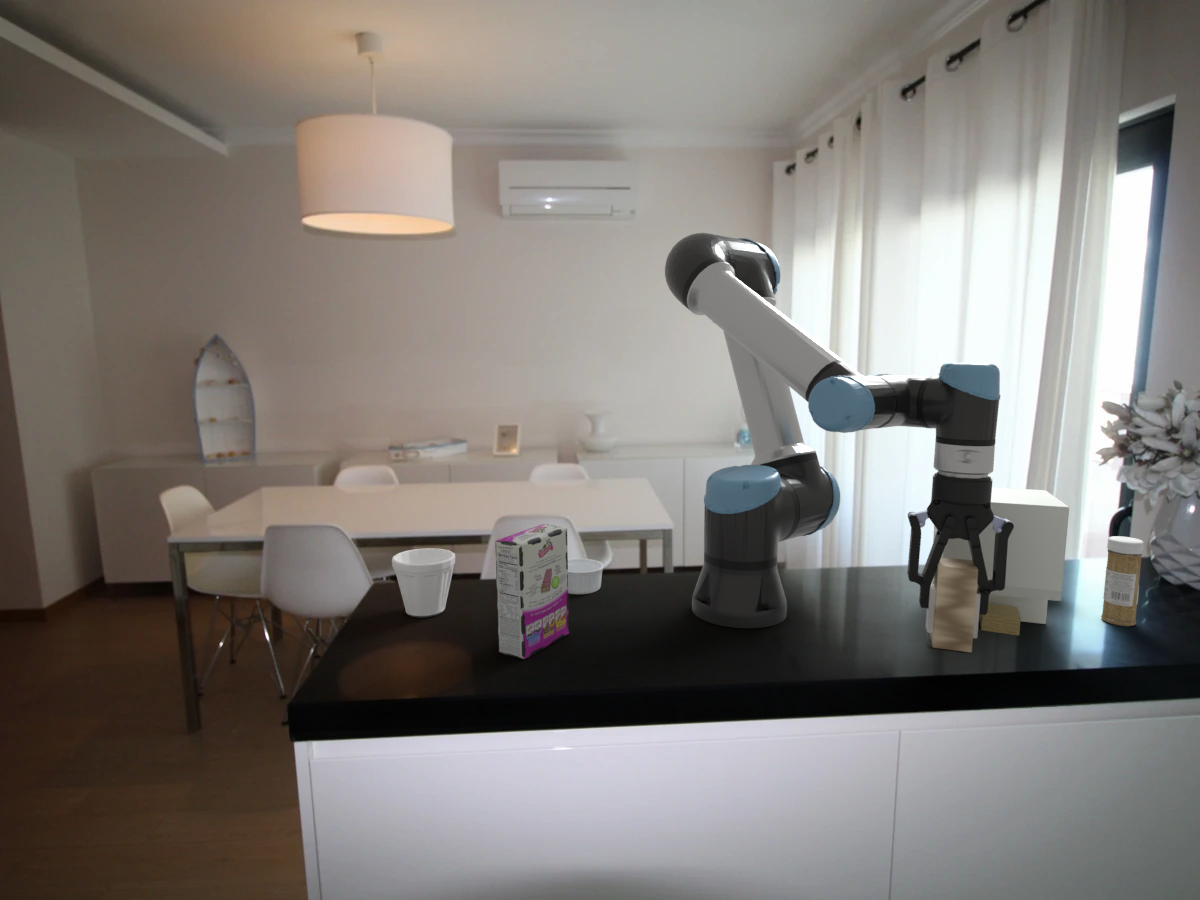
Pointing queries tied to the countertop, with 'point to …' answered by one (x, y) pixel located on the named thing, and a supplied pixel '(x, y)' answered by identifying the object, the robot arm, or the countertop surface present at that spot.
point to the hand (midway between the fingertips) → (950, 631)
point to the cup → (424, 579)
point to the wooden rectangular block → (954, 604)
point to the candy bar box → (532, 589)
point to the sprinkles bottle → (1122, 580)
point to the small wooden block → (1001, 619)
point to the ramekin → (584, 576)
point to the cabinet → (1024, 550)
